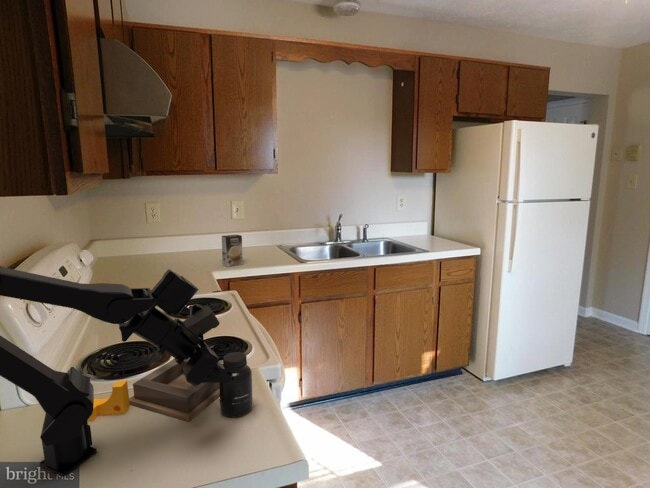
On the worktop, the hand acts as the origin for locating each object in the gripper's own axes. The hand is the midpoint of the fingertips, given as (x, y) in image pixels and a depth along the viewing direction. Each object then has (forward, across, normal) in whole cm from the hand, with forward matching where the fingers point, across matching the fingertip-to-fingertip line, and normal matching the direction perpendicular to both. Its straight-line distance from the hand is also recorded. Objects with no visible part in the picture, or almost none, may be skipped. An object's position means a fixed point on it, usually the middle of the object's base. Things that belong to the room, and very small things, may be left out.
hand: (224, 370), depth 83 cm
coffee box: (+35, +130, -21) cm, 136 cm away
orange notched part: (-10, +13, +24) cm, 29 cm away
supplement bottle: (+8, 0, +5) cm, 10 cm away
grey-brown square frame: (+2, +12, +11) cm, 17 cm away
